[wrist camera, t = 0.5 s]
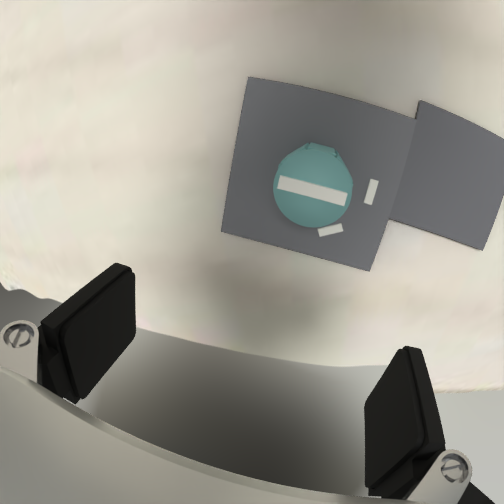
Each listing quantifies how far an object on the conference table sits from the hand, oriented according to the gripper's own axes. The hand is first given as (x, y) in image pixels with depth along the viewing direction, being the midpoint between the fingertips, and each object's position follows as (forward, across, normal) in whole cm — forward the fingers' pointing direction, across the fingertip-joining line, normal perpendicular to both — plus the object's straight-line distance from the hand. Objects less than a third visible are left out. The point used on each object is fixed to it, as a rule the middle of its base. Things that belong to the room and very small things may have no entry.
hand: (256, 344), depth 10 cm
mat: (+22, -14, -6) cm, 27 cm away
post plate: (+22, -1, -2) cm, 22 cm away
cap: (+22, -1, -2) cm, 22 cm away
